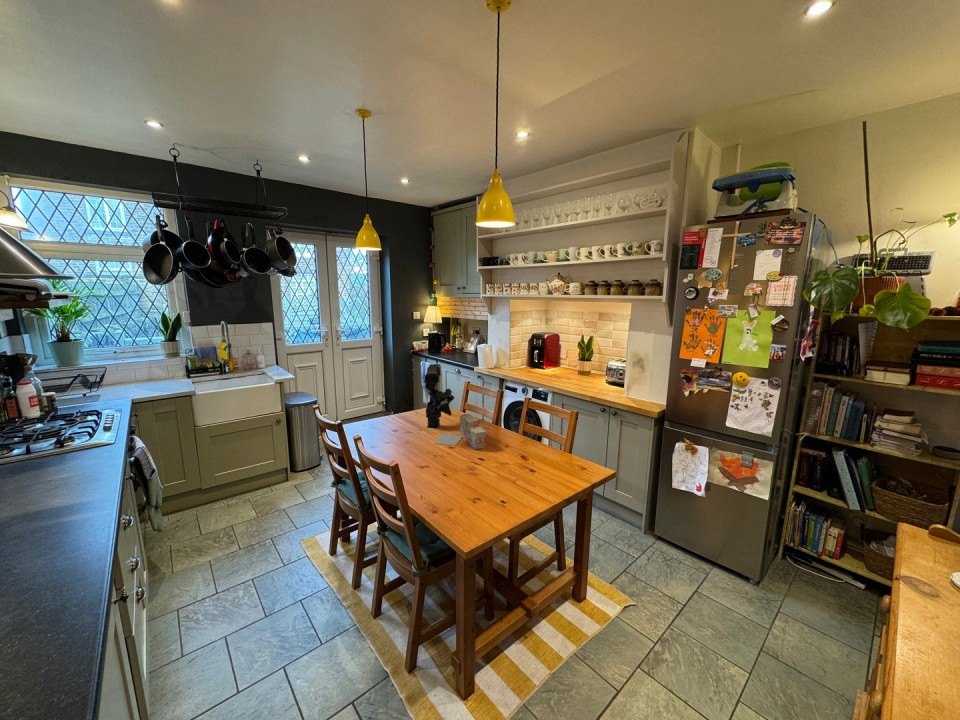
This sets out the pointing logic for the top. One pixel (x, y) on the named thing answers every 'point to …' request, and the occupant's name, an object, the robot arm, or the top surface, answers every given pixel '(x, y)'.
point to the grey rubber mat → (448, 439)
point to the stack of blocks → (472, 431)
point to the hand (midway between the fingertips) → (451, 415)
